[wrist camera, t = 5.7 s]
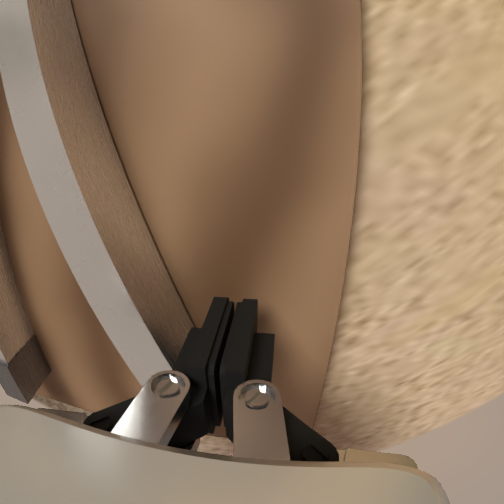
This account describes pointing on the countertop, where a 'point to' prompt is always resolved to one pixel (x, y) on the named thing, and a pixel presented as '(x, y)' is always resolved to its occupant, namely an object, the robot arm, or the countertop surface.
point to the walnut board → (209, 179)
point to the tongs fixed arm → (17, 338)
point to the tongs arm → (87, 185)
